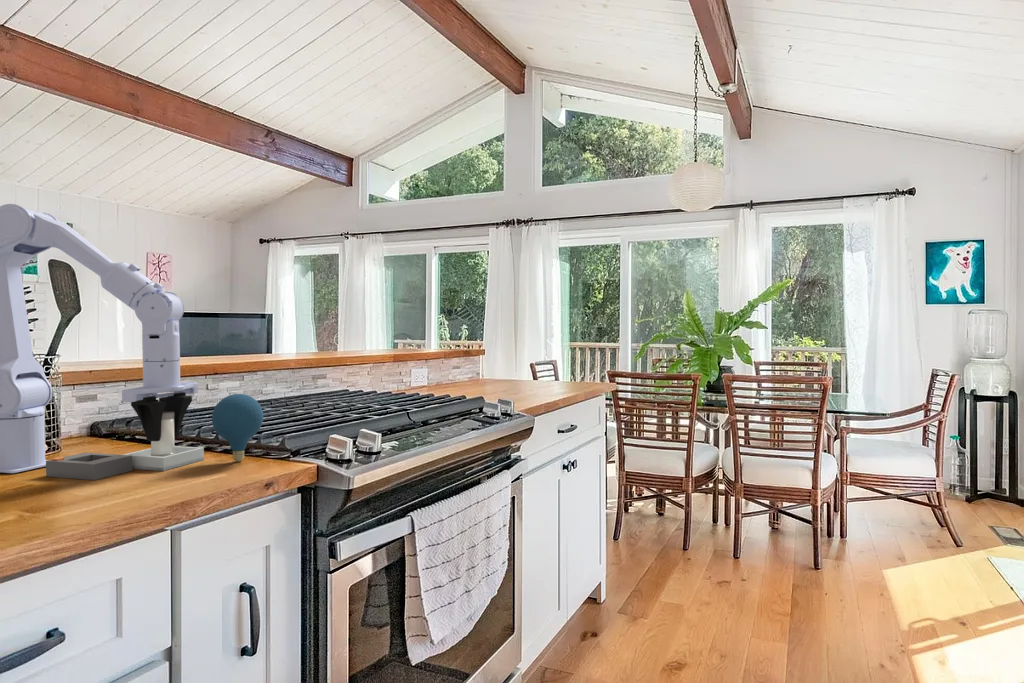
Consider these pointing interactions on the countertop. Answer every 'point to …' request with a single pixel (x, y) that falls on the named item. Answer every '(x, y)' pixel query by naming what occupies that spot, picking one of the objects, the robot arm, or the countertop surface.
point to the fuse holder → (88, 466)
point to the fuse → (165, 437)
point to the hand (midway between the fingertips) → (163, 438)
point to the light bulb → (237, 421)
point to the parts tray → (166, 458)
